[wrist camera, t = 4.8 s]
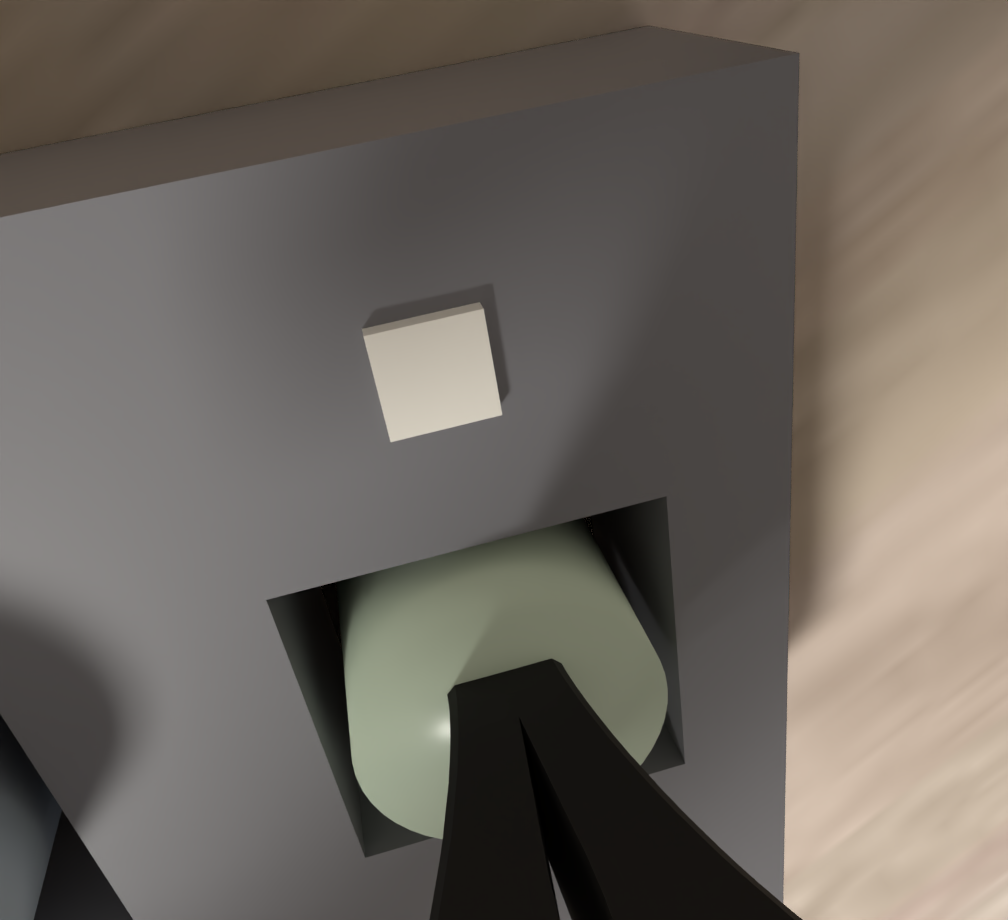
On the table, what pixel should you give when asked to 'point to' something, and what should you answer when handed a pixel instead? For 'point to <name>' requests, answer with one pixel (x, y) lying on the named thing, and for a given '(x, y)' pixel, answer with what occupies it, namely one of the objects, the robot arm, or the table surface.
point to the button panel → (386, 443)
